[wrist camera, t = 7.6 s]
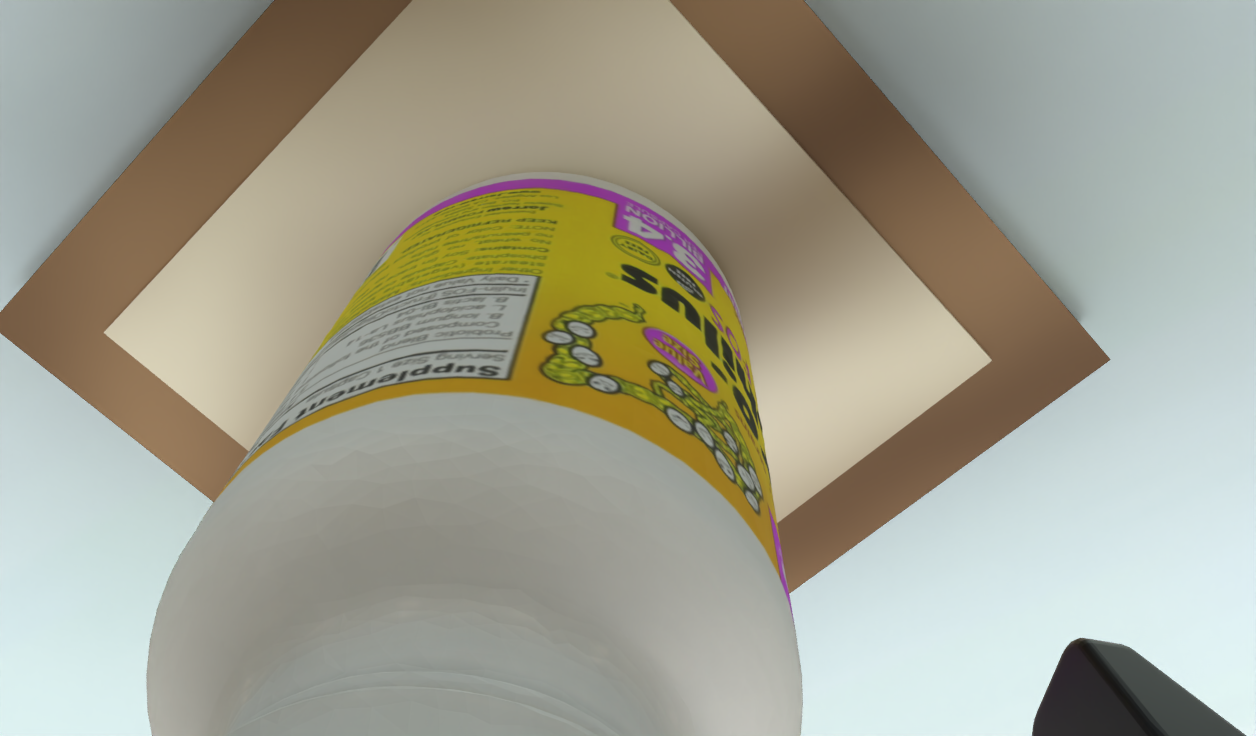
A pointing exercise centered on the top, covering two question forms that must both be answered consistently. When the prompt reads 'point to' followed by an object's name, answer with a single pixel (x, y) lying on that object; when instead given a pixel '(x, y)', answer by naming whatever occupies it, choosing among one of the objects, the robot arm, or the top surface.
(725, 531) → the supplement bottle
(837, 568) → the top surface
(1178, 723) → the robot arm
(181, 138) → the brown square tray
